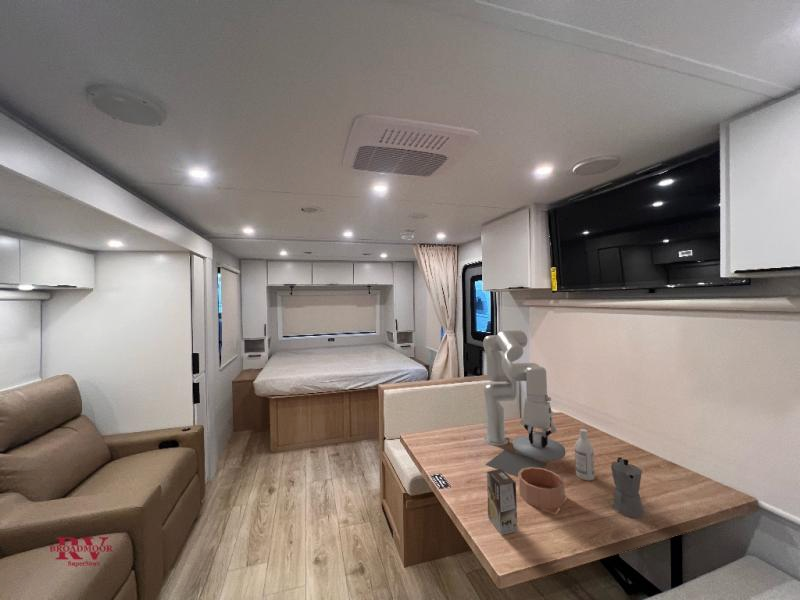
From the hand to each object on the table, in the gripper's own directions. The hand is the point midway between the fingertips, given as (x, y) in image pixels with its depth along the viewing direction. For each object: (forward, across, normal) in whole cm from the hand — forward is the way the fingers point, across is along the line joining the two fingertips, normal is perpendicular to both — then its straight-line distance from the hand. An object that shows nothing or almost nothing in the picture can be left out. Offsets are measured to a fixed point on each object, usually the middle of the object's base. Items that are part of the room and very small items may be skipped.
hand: (538, 444), depth 121 cm
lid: (+2, 0, 0) cm, 2 cm away
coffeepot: (+20, -26, -13) cm, 35 cm away
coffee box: (+20, +3, +26) cm, 33 cm away
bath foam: (+20, -10, -26) cm, 34 cm away
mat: (+20, +16, -16) cm, 30 cm away
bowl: (+20, -1, +1) cm, 20 cm away
